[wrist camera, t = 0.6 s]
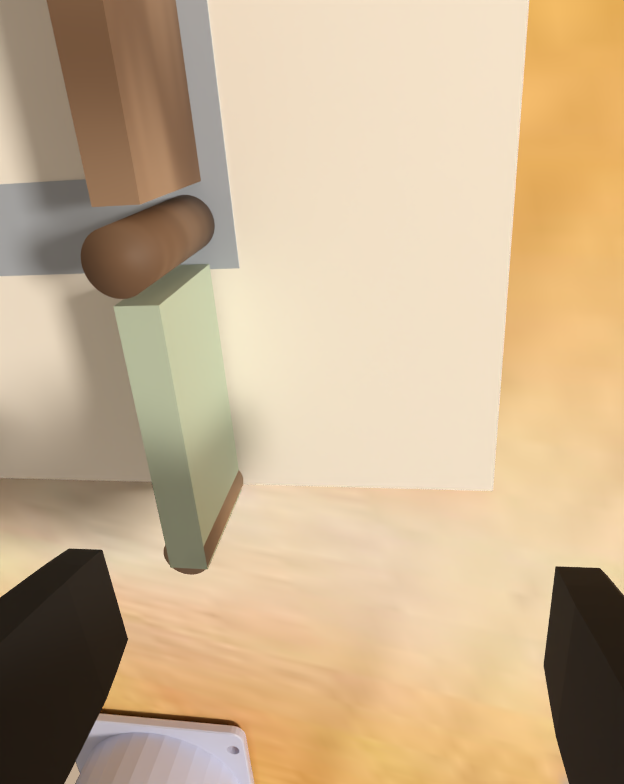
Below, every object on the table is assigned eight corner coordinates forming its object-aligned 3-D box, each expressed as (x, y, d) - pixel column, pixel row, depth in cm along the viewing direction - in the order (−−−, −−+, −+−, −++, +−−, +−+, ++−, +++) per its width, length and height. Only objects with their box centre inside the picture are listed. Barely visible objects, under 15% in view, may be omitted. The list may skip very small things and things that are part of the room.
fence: (218, 249, 16) (156, 298, 12) (167, 251, 16) (89, 300, 12) (162, -167, 12) (47, -294, 8) (97, -158, 12) (-46, -275, 8)
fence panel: (168, 265, 16) (108, 306, 12) (213, 264, 15) (163, 305, 12) (208, 494, 19) (168, 573, 16) (245, 495, 18) (212, 575, 15)
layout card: (490, 481, 18) (492, 491, 17) (-15, 469, 21) (-25, 478, 20) (542, -243, 11) (548, -259, 11) (-225, -120, 14) (-248, -129, 13)
